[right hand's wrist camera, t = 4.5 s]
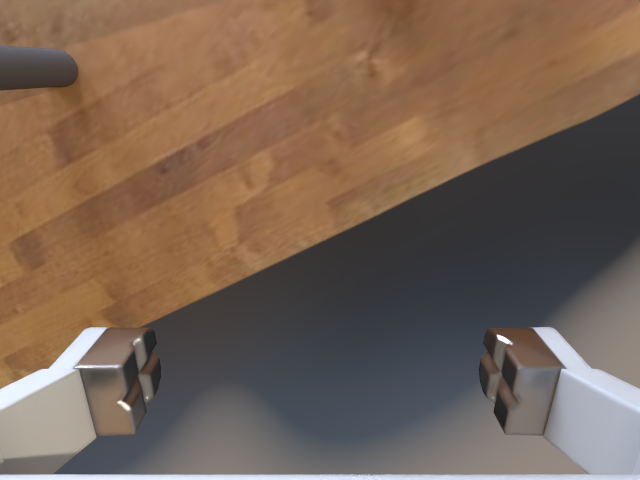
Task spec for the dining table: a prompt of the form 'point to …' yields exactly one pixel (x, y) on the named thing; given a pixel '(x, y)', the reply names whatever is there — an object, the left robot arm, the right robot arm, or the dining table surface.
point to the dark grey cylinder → (35, 68)
